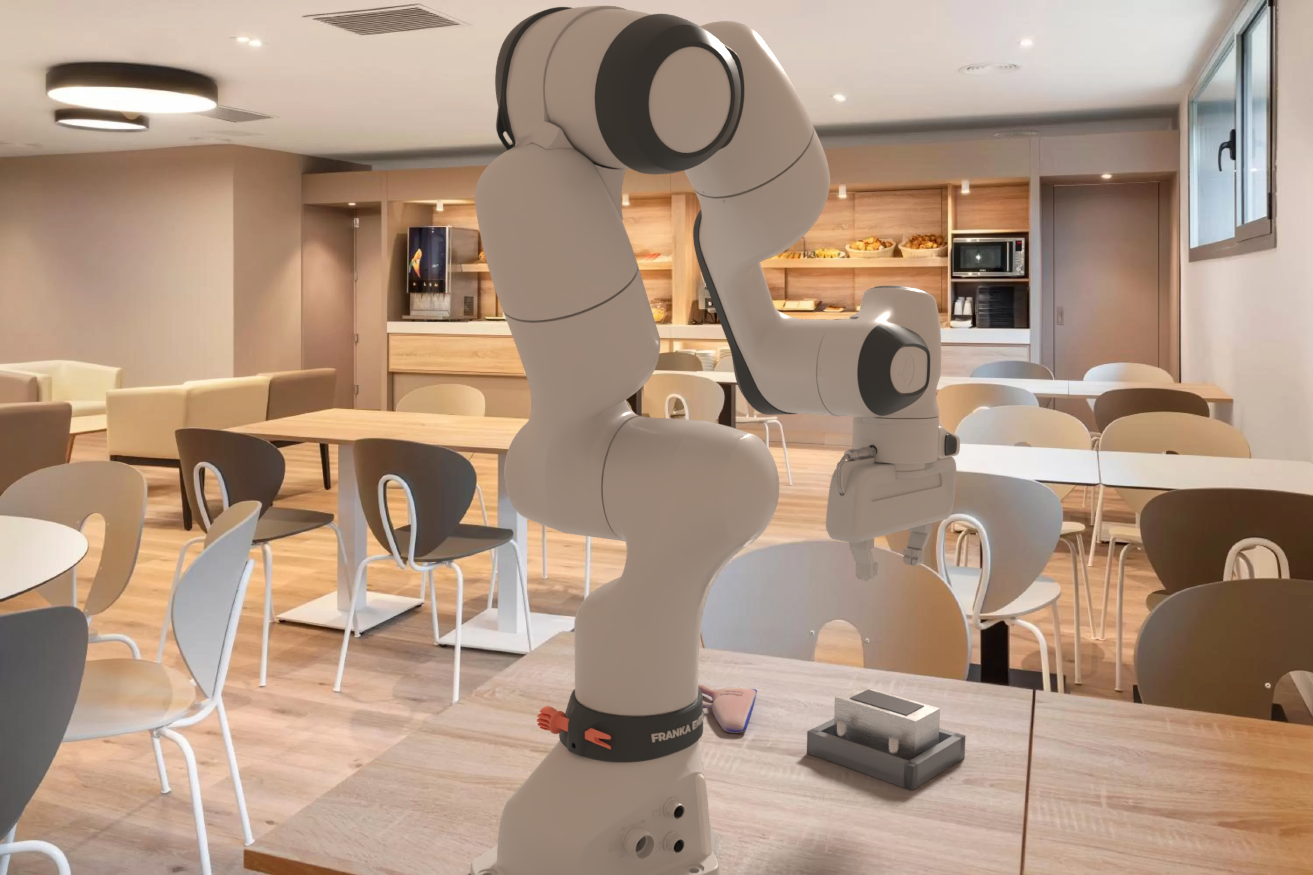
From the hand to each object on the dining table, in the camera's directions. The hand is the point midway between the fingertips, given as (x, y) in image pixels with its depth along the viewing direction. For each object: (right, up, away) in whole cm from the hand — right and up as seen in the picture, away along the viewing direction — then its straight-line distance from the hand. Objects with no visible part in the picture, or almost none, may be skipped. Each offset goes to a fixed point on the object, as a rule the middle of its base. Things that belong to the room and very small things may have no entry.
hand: (890, 571), depth 113 cm
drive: (0, -19, +2) cm, 20 cm away
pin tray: (0, -20, +3) cm, 21 cm away
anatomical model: (-23, -19, +17) cm, 35 cm away
